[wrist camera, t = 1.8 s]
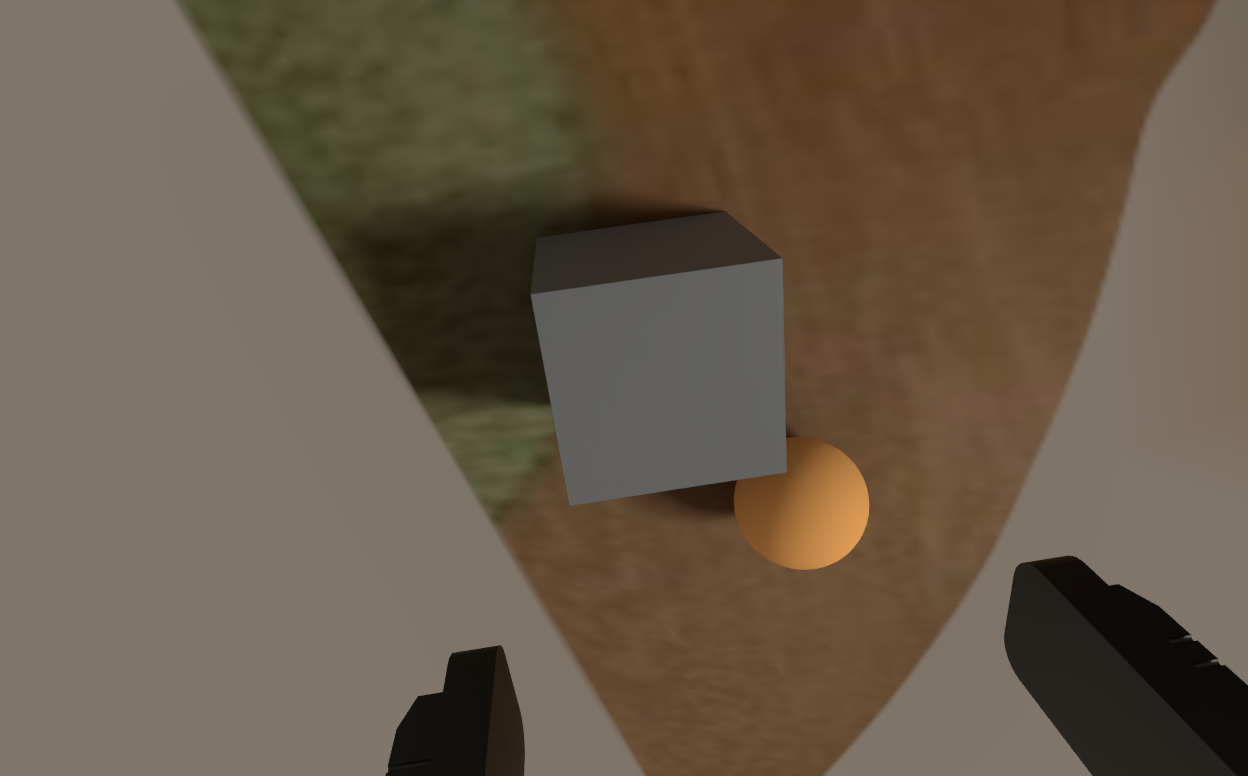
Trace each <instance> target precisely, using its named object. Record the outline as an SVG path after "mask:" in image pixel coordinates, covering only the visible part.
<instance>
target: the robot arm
mask: <svg viewBox="0 0 1248 776" xmlns="http://www.w3.org/2000/svg"><path fill="white" fill-rule="evenodd" d="M1004 642H1005V648H1006V653H1007V656H1008V659H1009V662H1010V664H1011V666H1012V668H1013V670H1014V672H1015V674H1016V675H1017V677H1018V678H1019V680H1020V681H1021V682H1022V684H1023V685H1024V686H1025V687H1026V689H1027V690H1028V692H1029V693H1030V694H1031V695H1032V697H1033V698H1034V699H1035V701H1036V702H1037V703H1038V705H1039V706H1040V707H1041V709H1042V710H1043V711H1044V712H1045V714H1046V715H1047V716H1048V718H1049V719H1050V720H1051V722H1052V723H1053V724H1054V726H1055V727H1056V728H1057V730H1058V731H1059V732H1060V734H1061V735H1062V736H1063V737H1064V739H1065V740H1066V741H1067V743H1068V744H1069V745H1070V746H1071V748H1072V749H1073V751H1074V752H1075V753H1076V755H1077V756H1078V757H1079V758H1080V760H1081V761H1082V762H1083V764H1084V765H1085V766H1086V767H1087V769H1088V770H1089V772H1090V773H1091V774H1092V775H1093V776H1248V685H1246V683H1245V682H1243V681H1242V680H1241V679H1240V678H1239V677H1238V676H1237V675H1235V674H1234V673H1233V672H1232V671H1231V670H1230V669H1229V668H1228V667H1227V666H1225V665H1222V666H1221V665H1220V664H1219V662H1218V658H1217V657H1215V656H1214V655H1213V654H1212V653H1211V652H1210V651H1209V650H1208V649H1206V648H1205V647H1204V646H1203V645H1202V644H1201V643H1200V642H1199V641H1193V640H1192V638H1191V634H1189V633H1188V632H1187V631H1186V630H1185V629H1184V628H1183V627H1181V626H1180V625H1179V624H1178V623H1177V622H1176V621H1175V620H1174V619H1173V618H1172V617H1170V616H1169V615H1168V614H1167V613H1166V612H1165V611H1164V610H1162V609H1161V608H1160V607H1159V606H1157V605H1156V604H1154V603H1151V602H1150V601H1148V600H1146V599H1145V598H1143V597H1141V596H1139V595H1137V594H1135V593H1134V592H1132V591H1130V590H1128V589H1126V588H1124V587H1123V586H1121V585H1119V584H1117V585H1111V586H1109V585H1108V584H1106V583H1105V582H1104V581H1103V580H1102V579H1101V578H1100V577H1099V576H1098V575H1097V574H1096V573H1095V572H1094V571H1093V570H1091V569H1090V568H1089V567H1088V566H1087V565H1086V564H1085V563H1084V562H1083V561H1081V560H1079V559H1078V558H1076V557H1073V556H1063V557H1057V558H1051V559H1044V560H1038V561H1032V562H1026V563H1021V564H1019V565H1018V566H1017V567H1016V570H1015V572H1014V577H1013V584H1012V590H1011V596H1010V602H1009V609H1008V615H1007V621H1006V627H1005V635H1004ZM524 762H525V746H524V732H523V724H522V718H521V713H520V709H519V705H518V702H517V697H516V694H515V690H514V686H513V683H512V679H511V675H510V671H509V667H508V664H507V660H506V656H505V653H504V650H503V648H502V646H501V645H500V646H493V647H487V648H481V649H474V650H468V651H462V652H456V653H452V654H451V656H450V658H449V661H448V666H447V672H446V678H445V683H444V689H443V692H441V693H435V694H429V695H424V696H418V697H417V699H416V700H415V702H414V703H413V705H412V706H411V708H410V709H409V711H408V712H407V714H406V716H405V717H404V719H403V720H402V722H401V724H400V725H399V726H398V728H397V730H396V734H395V738H394V742H393V747H392V751H391V755H390V759H389V763H388V773H386V776H524Z"/></svg>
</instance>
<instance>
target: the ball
mask: <svg viewBox="0 0 1248 776" xmlns="http://www.w3.org/2000/svg"><path fill="white" fill-rule="evenodd" d="M786 458H787V472H785V473H779V474H772V475H766V476H759V477H753V478H746V479H740V480H737V482H736V486H735V491H734V510H735V515H736V519H737V522H738V525H739V528H740V529H741V531H742V533H743V535H744V537H745V538H746V540H747V541H748V542H749V543H750V545H751V546H752V547H753V548H754V549H755V550H756V551H757V552H758V553H760V554H761V555H762V556H763V557H765V558H766V559H768V560H770V561H772V562H774V563H776V564H778V565H781V566H784V567H787V568H792V569H800V570H807V569H816V568H821V567H825V566H828V565H830V564H832V563H834V562H836V561H838V560H840V559H841V558H843V557H844V556H845V555H847V554H848V553H849V552H850V551H851V550H852V549H853V547H854V546H855V545H856V544H857V543H858V541H859V540H860V538H861V536H862V534H863V532H864V530H865V527H866V524H867V520H868V515H869V497H868V491H867V487H866V484H865V482H864V479H863V477H862V475H861V473H860V472H859V470H858V468H857V467H856V465H855V464H854V463H853V462H852V461H851V460H850V459H849V458H848V456H847V455H846V454H844V453H843V452H842V451H840V450H839V449H838V448H836V447H834V446H833V445H831V444H829V443H826V442H824V441H821V440H819V439H814V438H809V437H788V438H786Z"/></svg>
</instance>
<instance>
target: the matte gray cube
mask: <svg viewBox="0 0 1248 776" xmlns="http://www.w3.org/2000/svg"><path fill="white" fill-rule="evenodd" d="M531 299H532V305H533V310H534V315H535V321H536V326H537V332H538V337H539V342H540V348H541V353H542V359H543V364H544V369H545V375H546V380H547V386H548V391H549V396H550V402H551V407H552V413H553V418H554V423H555V429H556V434H557V440H558V445H559V450H560V456H561V461H562V467H563V472H564V477H565V483H566V488H567V494H568V499H569V504H570V506H571V505H578V504H584V503H591V502H597V501H604V500H610V499H617V498H623V497H630V496H636V495H643V494H649V493H656V492H662V491H669V490H675V489H681V488H688V487H694V486H701V485H707V484H714V483H720V482H727V481H733V480H740V479H746V478H753V477H759V476H766V475H772V474H779V473H785V472H787V458H786V409H785V361H784V312H783V264H782V258H781V257H780V256H779V255H778V254H776V253H775V252H774V251H773V250H772V249H770V248H769V247H768V246H767V245H766V244H764V243H763V242H762V241H761V240H759V239H758V238H757V237H756V236H755V235H753V234H752V233H751V232H750V231H749V230H747V229H746V228H745V227H744V226H743V225H741V224H740V223H739V222H738V221H736V220H735V219H734V218H733V217H732V216H730V215H729V214H728V213H727V212H726V211H723V212H715V213H708V214H701V215H694V216H687V217H680V218H673V219H666V220H659V221H651V222H644V223H637V224H630V225H623V226H616V227H609V228H602V229H595V230H588V231H580V232H573V233H566V234H559V235H552V236H545V237H538V238H536V246H535V256H534V266H533V276H532V286H531Z"/></svg>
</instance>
